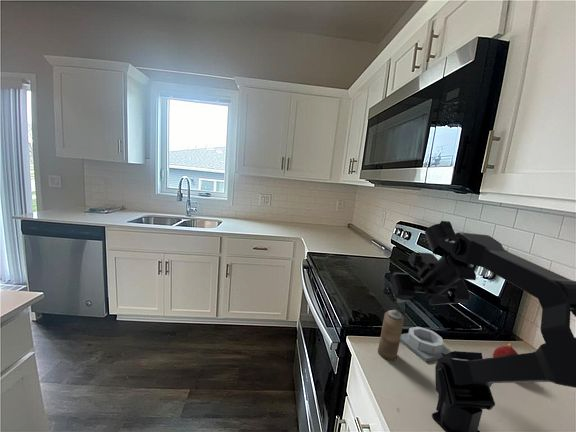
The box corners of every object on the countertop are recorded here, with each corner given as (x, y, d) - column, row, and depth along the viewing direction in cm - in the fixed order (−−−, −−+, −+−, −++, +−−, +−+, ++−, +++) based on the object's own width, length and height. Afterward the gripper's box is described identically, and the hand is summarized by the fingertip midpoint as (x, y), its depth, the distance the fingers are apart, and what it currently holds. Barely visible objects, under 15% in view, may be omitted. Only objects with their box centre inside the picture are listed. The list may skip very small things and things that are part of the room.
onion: (522, 380, 72) (530, 352, 71) (500, 377, 72) (508, 350, 71) (505, 364, 78) (512, 339, 77) (485, 362, 78) (492, 336, 77)
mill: (400, 358, 76) (409, 314, 73) (386, 361, 74) (395, 316, 71) (387, 347, 80) (395, 304, 78) (374, 349, 78) (381, 306, 76)
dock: (453, 355, 79) (455, 344, 79) (425, 362, 75) (428, 350, 75) (421, 333, 89) (424, 323, 89) (396, 337, 85) (398, 327, 84)
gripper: (467, 247, 70) (435, 278, 81) (397, 240, 68) (374, 273, 79) (489, 287, 62) (450, 315, 74) (411, 281, 60) (383, 311, 72)
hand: (413, 302), depth 75 cm, fingers open, 9 cm apart
